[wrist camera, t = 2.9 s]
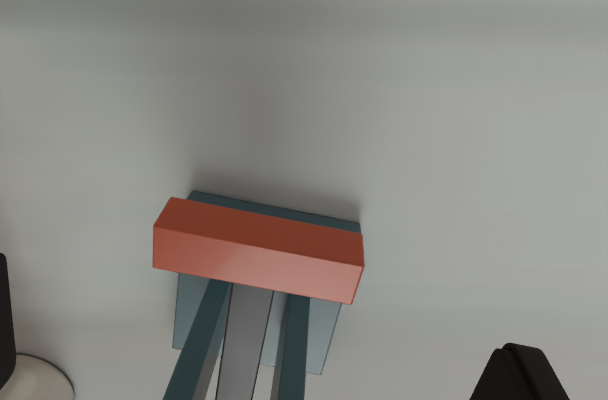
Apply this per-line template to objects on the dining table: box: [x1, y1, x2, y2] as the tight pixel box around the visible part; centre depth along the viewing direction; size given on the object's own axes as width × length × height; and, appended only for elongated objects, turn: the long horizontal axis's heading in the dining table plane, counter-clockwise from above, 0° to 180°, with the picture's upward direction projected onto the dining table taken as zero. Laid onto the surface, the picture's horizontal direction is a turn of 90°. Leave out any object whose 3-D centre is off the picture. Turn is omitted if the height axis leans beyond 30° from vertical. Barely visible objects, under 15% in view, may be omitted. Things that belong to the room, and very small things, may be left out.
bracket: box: [163, 191, 361, 400], centre depth 21 cm, size 10×9×13 cm
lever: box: [153, 197, 365, 400], centre depth 15 cm, size 12×5×2 cm, turn 170°
